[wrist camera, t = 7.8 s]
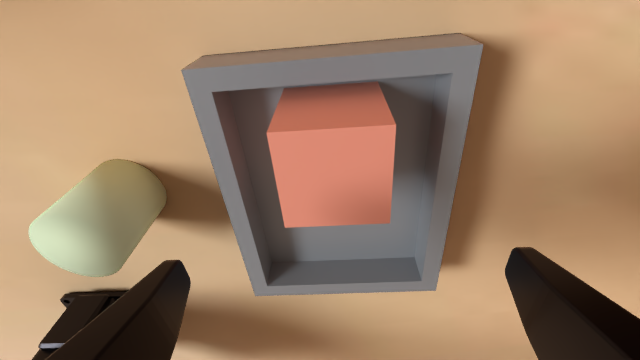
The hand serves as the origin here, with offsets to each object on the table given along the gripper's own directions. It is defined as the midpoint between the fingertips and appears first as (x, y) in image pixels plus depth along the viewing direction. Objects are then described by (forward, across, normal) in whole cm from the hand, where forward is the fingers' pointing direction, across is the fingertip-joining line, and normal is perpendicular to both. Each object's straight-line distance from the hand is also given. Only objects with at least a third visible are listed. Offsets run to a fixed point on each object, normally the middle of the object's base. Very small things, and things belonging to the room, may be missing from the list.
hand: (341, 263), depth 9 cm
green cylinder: (+10, +13, +4) cm, 17 cm away
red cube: (+9, 0, 0) cm, 9 cm away
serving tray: (+10, 0, +4) cm, 10 cm away
